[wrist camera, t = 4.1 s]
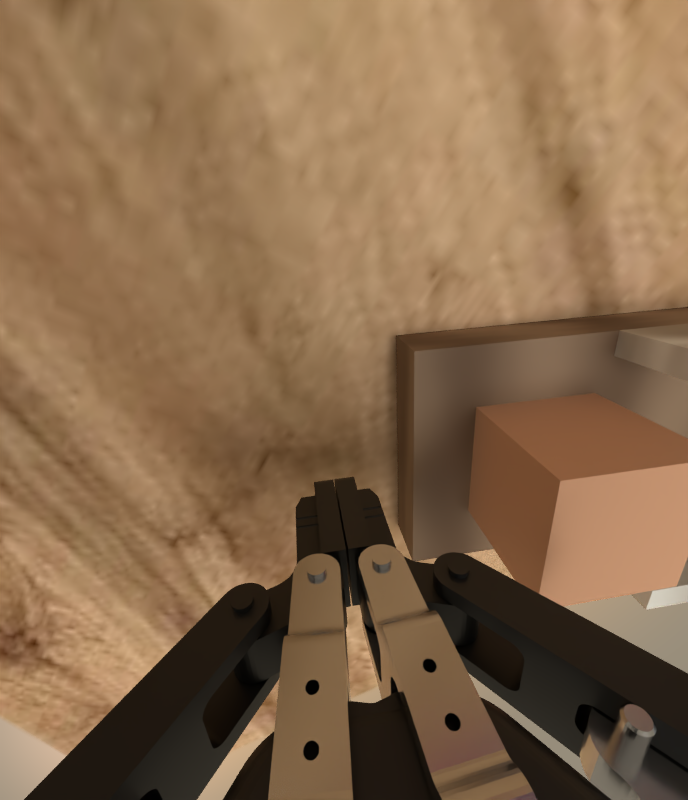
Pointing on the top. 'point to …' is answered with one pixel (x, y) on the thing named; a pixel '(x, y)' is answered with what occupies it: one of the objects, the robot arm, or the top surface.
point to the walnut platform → (517, 382)
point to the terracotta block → (581, 497)
